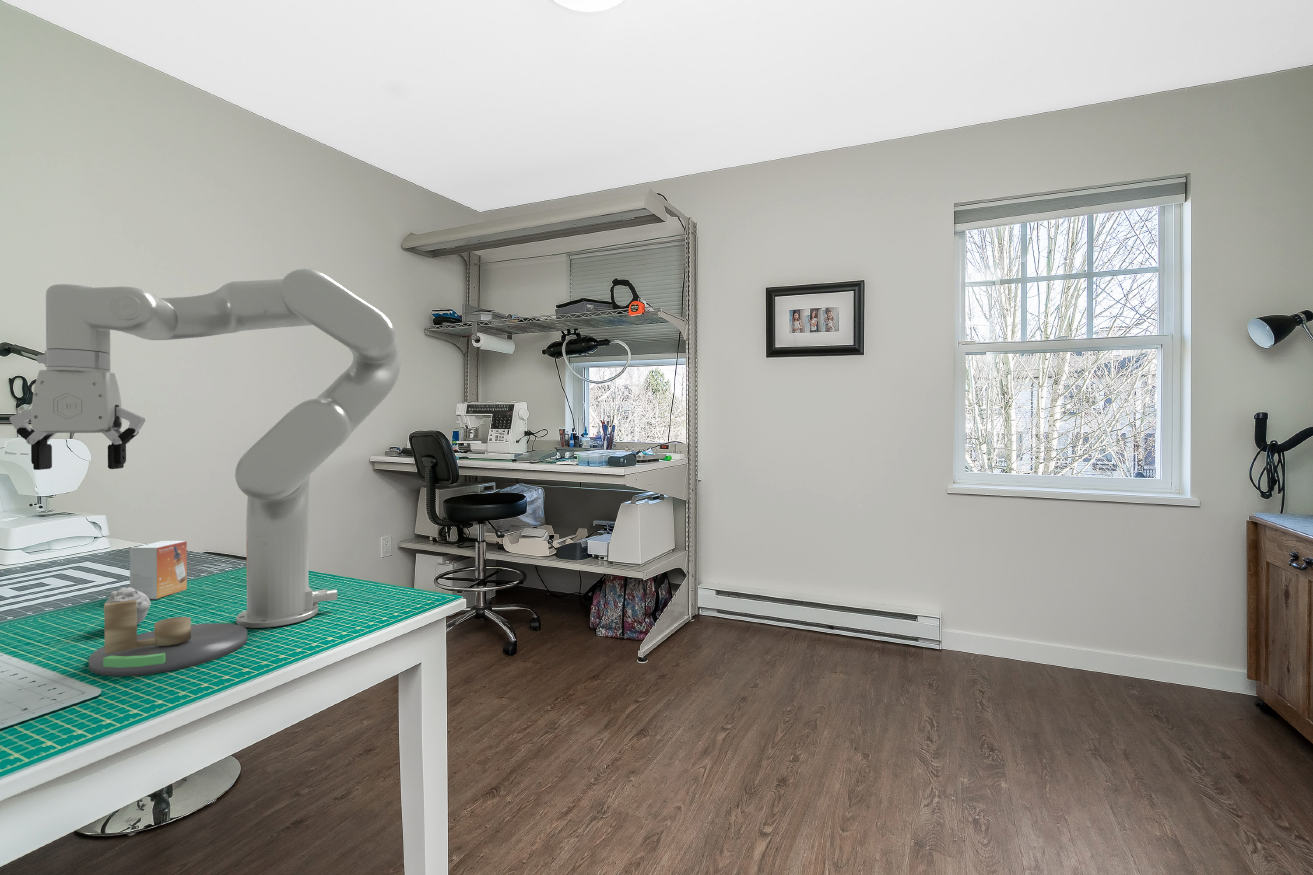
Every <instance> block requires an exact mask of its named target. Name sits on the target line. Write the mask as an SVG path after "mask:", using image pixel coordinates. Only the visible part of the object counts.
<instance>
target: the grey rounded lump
mask: <svg viewBox="0 0 1313 875" xmlns="http://www.w3.org/2000/svg"><path fill="white" fill-rule="evenodd" d="M109 595H110V596H108V598H107V601H105V602H104V605H105V604H106V603H113V602H120V601H128V600H135V599H136V604H137V625H138V624H141V623H142V622H143V621H144V619H146V616H147V615H148V611H149V609H150V606H151V605H152V604H151V599H149V598H148V597H147V596H146V595H145V594H144V593H142V592H139V591H137V590H134V589H133V588H130V586H129V587H122V588H120V589H118V590H114V591H111V592H110V593H109ZM104 605H103V606H104Z"/></svg>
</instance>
